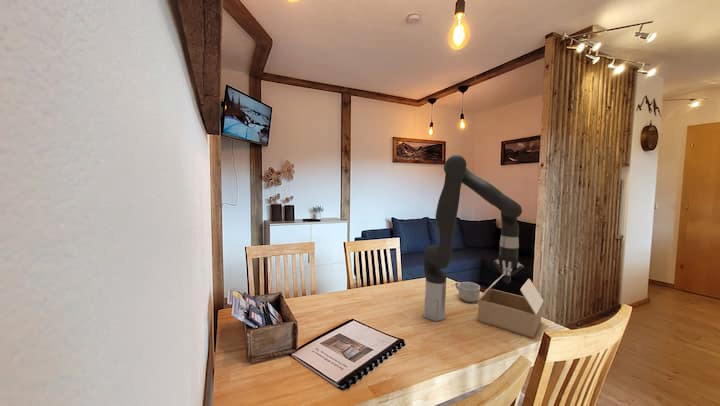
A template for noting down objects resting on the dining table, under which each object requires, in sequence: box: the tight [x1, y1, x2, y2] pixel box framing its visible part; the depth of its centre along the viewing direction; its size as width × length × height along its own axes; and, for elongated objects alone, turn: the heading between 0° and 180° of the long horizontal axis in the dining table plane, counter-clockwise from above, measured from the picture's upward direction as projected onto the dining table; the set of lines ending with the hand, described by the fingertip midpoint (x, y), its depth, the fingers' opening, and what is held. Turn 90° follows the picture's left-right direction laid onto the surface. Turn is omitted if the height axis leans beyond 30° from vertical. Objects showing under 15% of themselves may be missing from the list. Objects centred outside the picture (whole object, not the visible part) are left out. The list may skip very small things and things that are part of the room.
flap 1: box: [478, 274, 503, 300], centre depth 136 cm, size 17×11×1 cm
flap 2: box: [519, 278, 545, 315], centre depth 125 cm, size 17×11×1 cm
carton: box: [477, 288, 543, 340], centre depth 131 cm, size 18×22×10 cm
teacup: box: [454, 281, 481, 303], centre depth 156 cm, size 14×11×8 cm
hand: (506, 282), depth 133 cm, fingers closed
